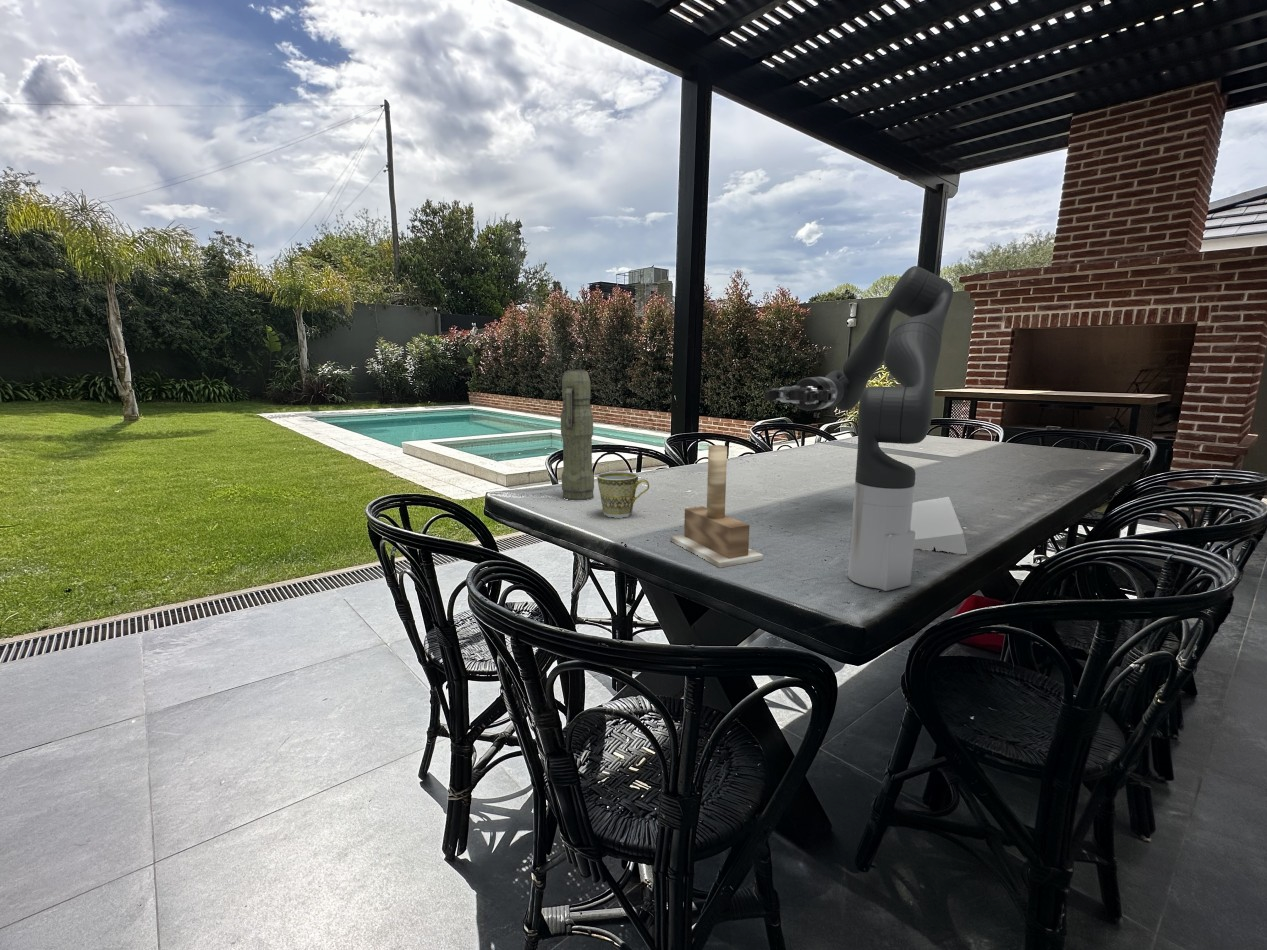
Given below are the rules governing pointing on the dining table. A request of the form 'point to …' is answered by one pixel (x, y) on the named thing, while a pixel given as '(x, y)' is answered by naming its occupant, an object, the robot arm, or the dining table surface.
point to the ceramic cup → (618, 492)
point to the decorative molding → (937, 526)
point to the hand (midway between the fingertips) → (786, 396)
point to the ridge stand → (716, 538)
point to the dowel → (716, 481)
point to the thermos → (577, 436)
